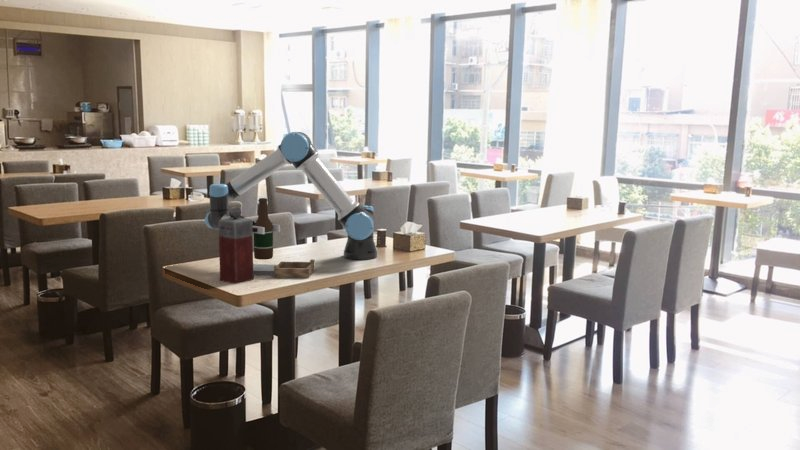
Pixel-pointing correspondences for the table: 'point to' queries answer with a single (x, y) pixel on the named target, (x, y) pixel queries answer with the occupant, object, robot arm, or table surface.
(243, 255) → the red square bottle
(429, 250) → the table surface
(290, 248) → the table surface
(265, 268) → the trivet
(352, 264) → the table surface
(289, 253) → the table surface
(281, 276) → the wooden tray
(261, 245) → the beer bottle
